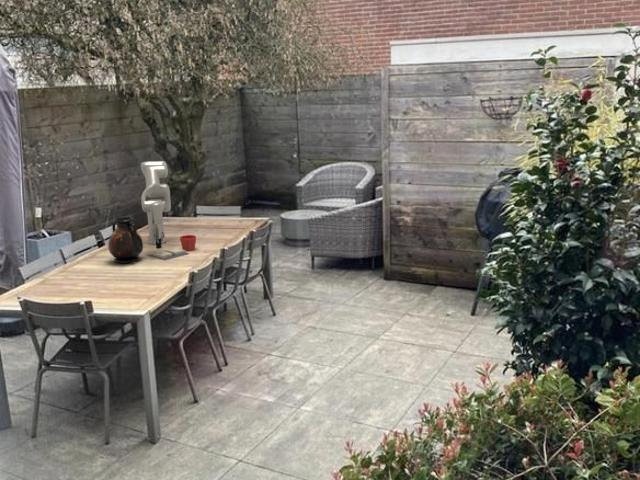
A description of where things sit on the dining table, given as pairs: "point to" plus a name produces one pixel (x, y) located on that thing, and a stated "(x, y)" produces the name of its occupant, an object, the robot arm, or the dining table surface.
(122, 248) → the amphora vase
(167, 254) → the tile
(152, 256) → the mat
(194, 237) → the flower pot
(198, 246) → the dining table surface
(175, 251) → the tile
